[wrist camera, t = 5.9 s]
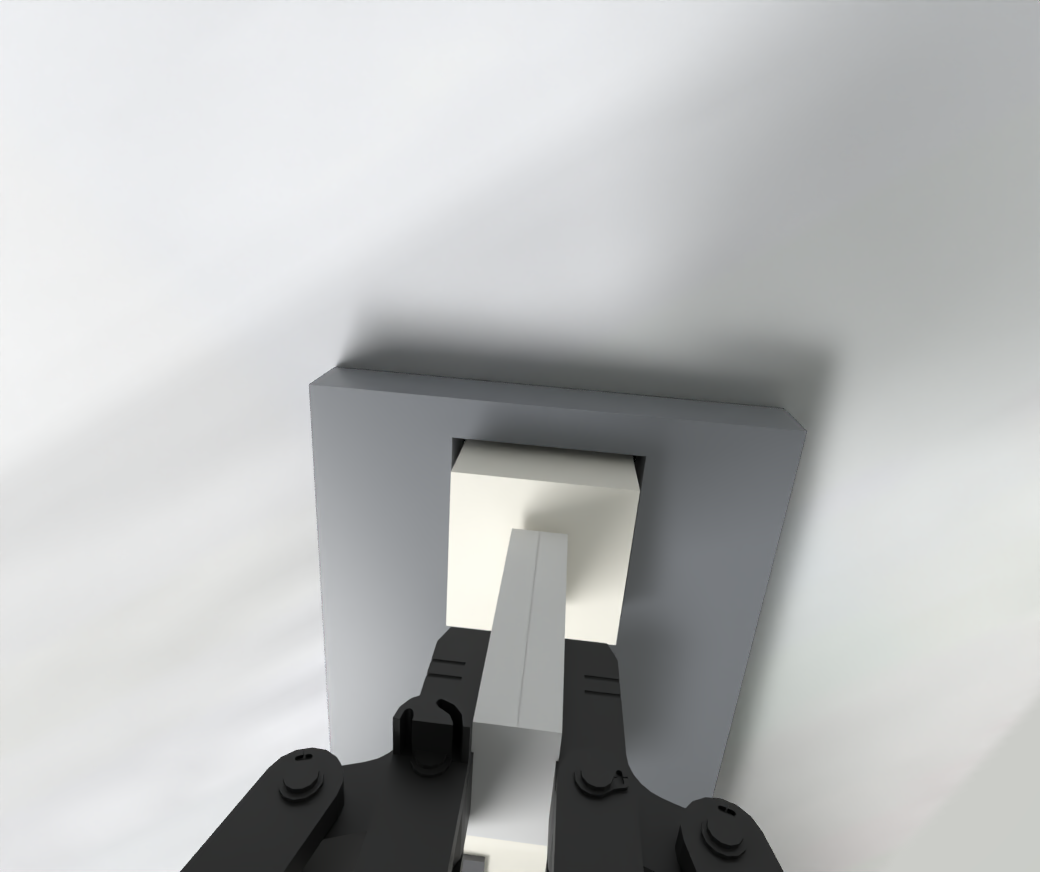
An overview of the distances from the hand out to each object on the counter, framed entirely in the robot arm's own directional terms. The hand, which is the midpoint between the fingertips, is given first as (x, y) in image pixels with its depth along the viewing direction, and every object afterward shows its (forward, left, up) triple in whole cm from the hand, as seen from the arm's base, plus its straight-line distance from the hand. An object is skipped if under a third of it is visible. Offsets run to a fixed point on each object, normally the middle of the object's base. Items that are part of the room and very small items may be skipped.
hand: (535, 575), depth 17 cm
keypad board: (+7, 0, -4) cm, 8 cm away
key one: (0, 0, -4) cm, 4 cm away
